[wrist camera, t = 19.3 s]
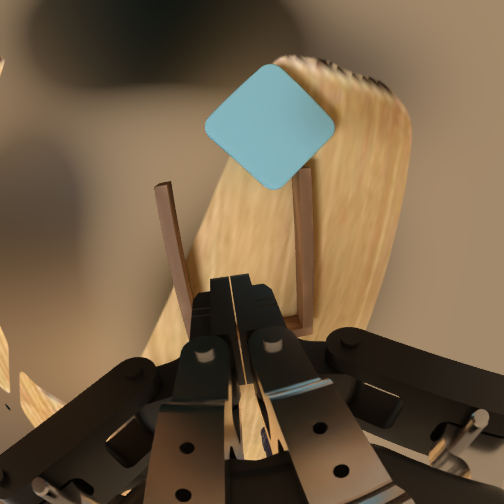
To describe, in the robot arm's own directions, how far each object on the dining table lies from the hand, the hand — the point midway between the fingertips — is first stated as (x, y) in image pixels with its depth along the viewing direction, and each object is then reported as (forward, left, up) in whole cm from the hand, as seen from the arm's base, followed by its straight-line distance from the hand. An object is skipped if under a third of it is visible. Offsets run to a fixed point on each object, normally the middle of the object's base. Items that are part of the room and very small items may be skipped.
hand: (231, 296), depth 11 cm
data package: (+2, +4, -25) cm, 25 cm away
